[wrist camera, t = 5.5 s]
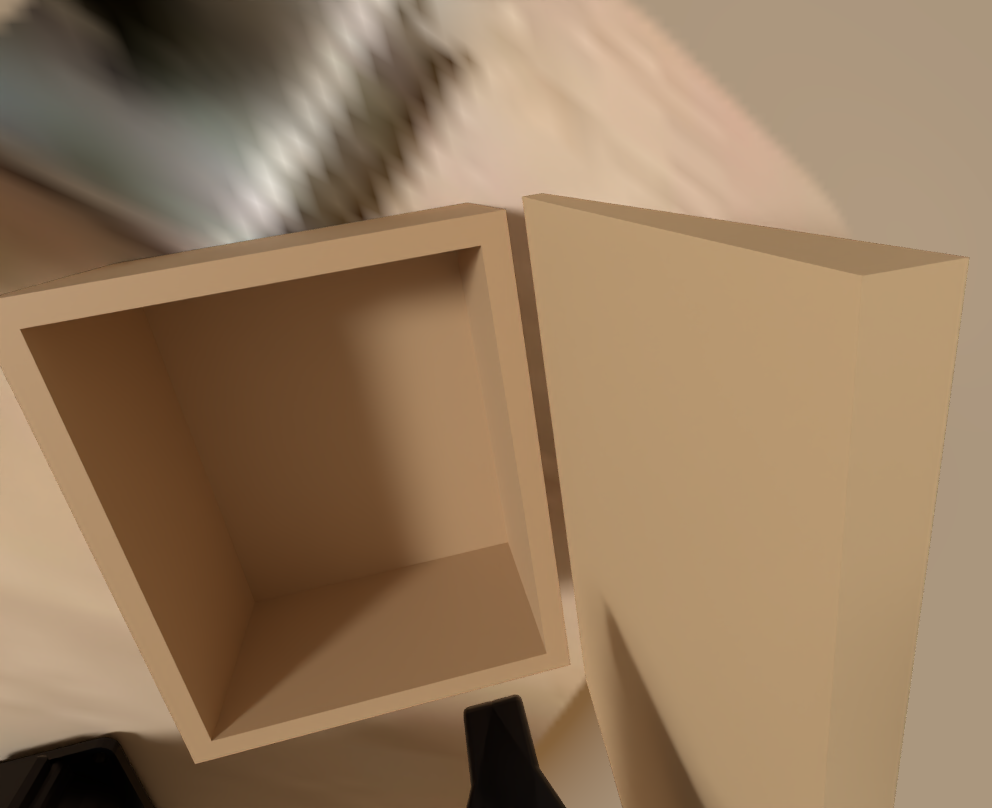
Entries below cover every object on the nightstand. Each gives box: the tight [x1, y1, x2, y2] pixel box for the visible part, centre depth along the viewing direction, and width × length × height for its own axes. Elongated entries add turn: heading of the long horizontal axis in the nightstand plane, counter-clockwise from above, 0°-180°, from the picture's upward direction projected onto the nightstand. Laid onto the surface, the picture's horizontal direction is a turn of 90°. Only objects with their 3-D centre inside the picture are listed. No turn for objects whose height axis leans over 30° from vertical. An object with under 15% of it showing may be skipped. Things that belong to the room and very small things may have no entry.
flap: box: [522, 193, 969, 808], centre depth 9 cm, size 12×10×1 cm
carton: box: [0, 203, 570, 764], centre depth 16 cm, size 12×10×6 cm
